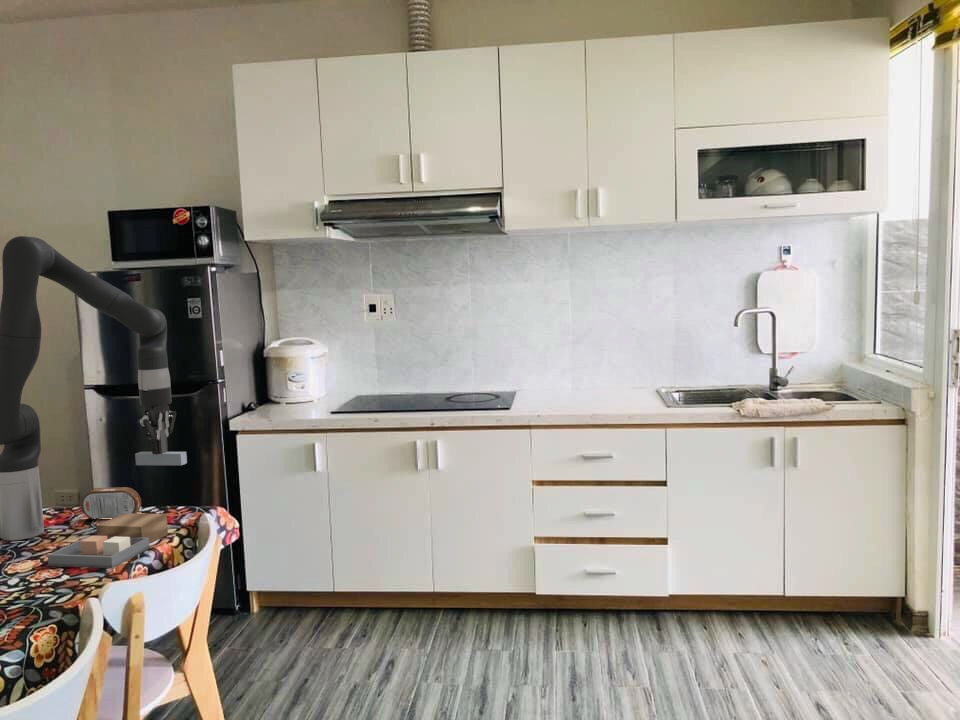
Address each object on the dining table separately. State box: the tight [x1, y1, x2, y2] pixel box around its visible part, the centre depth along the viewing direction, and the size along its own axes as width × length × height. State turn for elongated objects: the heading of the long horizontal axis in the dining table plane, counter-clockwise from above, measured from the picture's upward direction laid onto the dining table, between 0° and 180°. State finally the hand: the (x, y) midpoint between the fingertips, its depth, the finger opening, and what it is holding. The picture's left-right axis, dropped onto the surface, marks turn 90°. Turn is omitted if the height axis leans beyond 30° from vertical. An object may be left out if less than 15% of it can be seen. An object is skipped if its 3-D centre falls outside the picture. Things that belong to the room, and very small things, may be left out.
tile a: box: [80, 535, 108, 554], centre depth 172 cm, size 4×4×3 cm
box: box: [47, 535, 150, 569], centre depth 170 cm, size 16×13×2 cm
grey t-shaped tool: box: [134, 422, 188, 466], centre depth 192 cm, size 13×2×11 cm, turn 79°
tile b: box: [103, 536, 131, 555], centre depth 171 cm, size 4×4×3 cm
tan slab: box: [95, 513, 169, 545], centre depth 181 cm, size 12×10×5 cm
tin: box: [81, 486, 142, 520], centre depth 200 cm, size 15×3×8 cm, turn 92°
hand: (160, 452), depth 192 cm, fingers closed on grey t-shaped tool, 2 cm apart
